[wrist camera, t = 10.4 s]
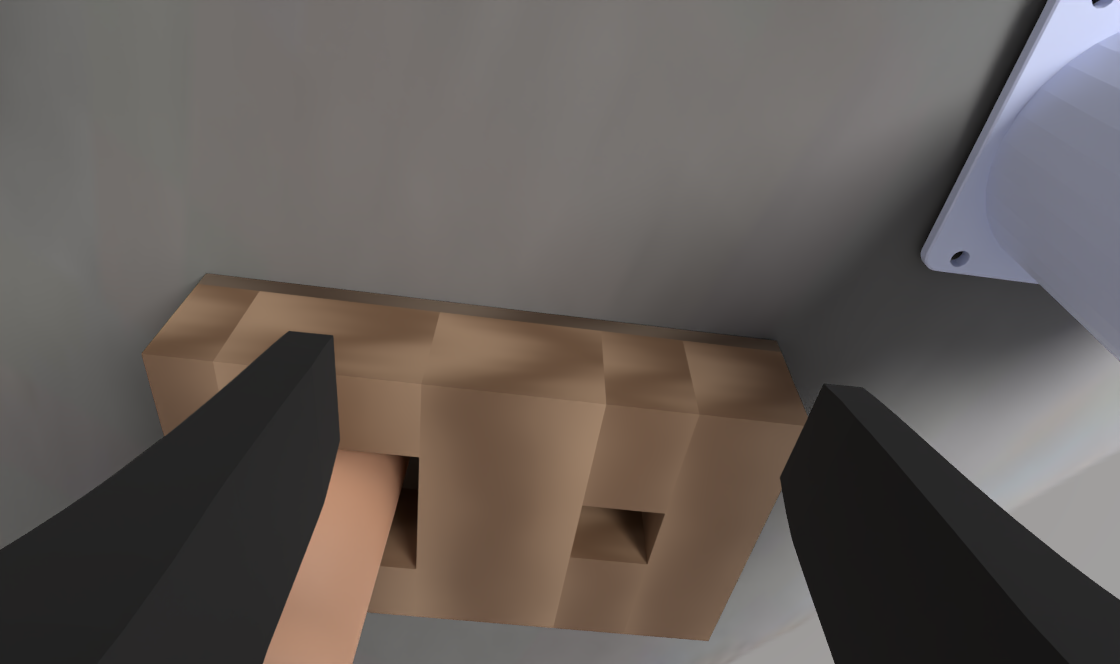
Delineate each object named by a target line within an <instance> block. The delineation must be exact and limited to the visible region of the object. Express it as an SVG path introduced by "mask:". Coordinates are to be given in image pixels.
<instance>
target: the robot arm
mask: <svg viewBox="0 0 1120 664" xmlns="http://www.w3.org/2000/svg"><path fill="white" fill-rule="evenodd" d="M959 251H963V253H962V254H961V256H960V257H958V258H957V259H955V260H951V258H952V256H953V255H954V254H955V253H957V252H959ZM920 255H921V260H922V261H923V262H924V263H925V265H926V266H927V267H928V268H929V269H931V270H934V271H941V272H948V273H956V274H964V275H972V276H980V277H987V278H995V279H1003V280H1011V281H1019V282H1026V283H1034V284H1040V285H1041V286H1042V287H1043V288H1044V289H1045V290H1046V291H1047V292H1048V293H1049V294H1050V295H1051V296H1052V297H1053V298H1054V299H1055V300H1056V301H1058V302H1059V303H1060V304H1061V305H1062V306H1063V307H1064V308H1065V309H1066V310H1067V311H1068V312H1069V313H1070V314H1071V315H1072V316H1073V317H1074V318H1075V319H1076V320H1077V321H1078V322H1079V323H1080V324H1081V325H1082V326H1083V327H1085V328H1086V329H1087V330H1088V331H1089V332H1090V333H1091V334H1092V335H1093V336H1094V337H1095V338H1096V339H1097V340H1098V341H1099V342H1100V343H1101V344H1102V345H1103V346H1104V347H1105V348H1106V349H1107V350H1108V351H1109V352H1110V353H1112V354H1113V355H1114V356H1115V357H1116V358H1117V359H1118V360H1119V361H1120V0H1100V1H1098V2H1096V3H1095V4H1092V0H1048V1H1047V3H1046V5H1045V7H1044V9H1043V11H1042V13H1041V15H1040V17H1039V19H1038V21H1037V23H1036V25H1035V27H1034V29H1033V31H1032V33H1031V35H1030V37H1029V39H1028V41H1027V43H1026V45H1025V47H1024V49H1023V51H1022V53H1021V55H1020V57H1019V58H1018V60H1017V62H1016V64H1015V66H1014V68H1013V70H1012V72H1011V74H1010V76H1009V78H1008V80H1007V82H1006V84H1005V86H1004V88H1003V90H1002V92H1001V94H1000V96H999V98H998V100H997V102H996V104H995V106H994V108H993V110H992V112H991V114H990V116H989V118H988V120H987V122H986V124H985V126H984V128H983V130H982V131H981V133H980V135H979V137H978V139H977V141H976V143H975V145H974V147H973V149H972V151H971V153H970V155H969V157H968V159H967V161H966V163H965V165H964V167H963V169H962V171H961V173H960V175H959V177H958V179H957V181H956V183H955V185H954V187H953V189H952V191H951V193H950V195H949V197H948V199H947V201H946V203H945V204H944V206H943V208H942V210H941V212H940V214H939V216H938V218H937V220H936V222H935V224H934V226H933V228H932V230H931V232H930V234H929V236H928V238H927V240H926V242H925V244H924V246H923V248H922V251H921V254H920ZM339 443H340V429H339V414H338V399H337V383H336V368H335V353H334V338H333V335H326V334H316V333H306V332H296V331H288V332H287V333H285V334H284V335H283V336H282V337H280V338H279V339H278V340H277V341H276V342H275V343H273V344H272V345H271V346H270V347H269V348H268V349H267V350H265V351H264V352H263V353H262V354H261V355H260V356H259V357H258V358H256V359H255V360H254V361H253V362H252V363H251V364H250V365H249V366H247V367H246V368H245V369H244V370H243V371H242V372H241V373H240V374H238V375H237V376H236V377H235V378H234V379H233V380H232V381H230V382H229V383H228V384H227V385H226V386H225V387H224V388H222V389H221V390H220V391H219V392H218V393H217V394H215V395H214V396H213V397H212V398H211V399H209V400H208V401H207V402H206V403H205V404H203V405H202V406H201V407H200V408H199V409H197V410H196V411H195V412H194V413H193V414H191V415H190V416H189V417H188V418H187V419H185V420H184V421H183V422H182V423H181V424H179V425H178V426H177V427H176V428H174V429H173V430H172V431H171V432H169V433H168V434H167V435H166V436H164V437H163V438H162V439H160V440H159V441H158V442H156V443H155V444H154V445H153V446H151V447H150V448H149V449H147V450H146V451H145V452H143V453H142V454H141V455H139V456H138V457H137V458H135V459H134V460H133V461H131V462H130V463H129V464H127V465H126V466H125V467H123V468H122V469H121V470H120V471H118V472H117V473H116V474H114V475H113V476H112V477H110V478H109V479H107V480H106V481H105V482H103V483H102V484H100V485H99V486H97V487H96V488H95V489H93V490H92V491H90V492H89V493H88V494H86V495H85V496H83V497H82V498H80V499H79V500H77V501H76V502H74V503H73V504H71V505H70V506H69V507H67V508H66V509H64V510H63V511H61V512H60V513H58V514H56V515H55V516H53V517H52V518H50V519H49V520H47V521H46V522H44V523H42V524H41V525H39V526H38V527H36V528H35V529H33V530H32V531H30V532H28V533H27V534H25V535H24V536H22V537H21V538H19V539H17V540H16V541H14V542H12V543H11V544H9V545H7V546H6V547H4V548H2V549H1V550H0V664H263V662H264V659H265V656H266V653H267V650H268V648H269V645H270V642H271V640H272V637H273V635H274V632H275V630H276V627H277V625H278V622H279V619H280V617H281V614H282V612H283V609H284V607H285V604H286V601H287V599H288V596H289V594H290V591H291V589H292V586H293V583H294V581H295V578H296V576H297V573H298V571H299V568H300V565H301V563H302V560H303V558H304V555H305V553H306V550H307V547H308V545H309V542H310V540H311V537H312V534H313V532H314V529H315V527H316V524H317V521H318V519H319V516H320V513H321V511H322V508H323V505H324V502H325V499H326V495H327V491H328V487H329V483H330V479H331V476H332V472H333V467H334V463H335V459H336V455H337V451H338V447H339ZM780 481H781V487H782V492H783V498H784V504H785V509H786V514H787V519H788V523H789V528H790V532H791V537H792V541H793V544H794V547H795V550H796V553H797V556H798V559H799V562H800V565H801V568H802V571H803V574H804V577H805V580H806V583H807V585H808V588H809V591H810V594H811V597H812V600H813V603H814V606H815V608H816V611H817V614H818V617H819V620H820V623H821V626H822V628H823V631H824V634H825V637H826V640H827V643H828V646H829V648H830V651H831V654H832V657H833V660H834V663H835V664H1120V600H1119V599H1118V598H1116V597H1115V596H1113V595H1112V594H1111V593H1109V592H1108V591H1106V590H1105V589H1103V588H1102V587H1101V586H1099V585H1098V584H1097V583H1095V582H1094V581H1093V580H1091V579H1090V578H1089V577H1087V576H1086V575H1085V574H1083V573H1082V572H1081V571H1079V570H1078V569H1077V568H1075V567H1074V566H1073V565H1071V564H1070V563H1069V562H1067V561H1066V560H1065V559H1064V558H1062V557H1061V556H1060V555H1059V554H1057V553H1056V552H1055V551H1054V550H1052V549H1051V548H1050V547H1049V546H1047V545H1046V544H1045V543H1044V542H1042V541H1041V540H1040V539H1039V538H1037V537H1036V536H1035V535H1034V534H1032V533H1031V532H1030V531H1029V530H1028V529H1026V528H1025V527H1024V526H1023V525H1021V524H1020V523H1019V522H1018V521H1016V520H1015V519H1014V518H1013V517H1012V516H1010V515H1009V514H1008V513H1007V512H1006V511H1005V510H1003V509H1002V508H1001V507H1000V506H999V505H997V504H996V503H995V502H994V501H993V500H992V499H990V498H989V497H988V496H987V495H986V494H985V493H983V492H982V491H981V490H980V489H979V488H978V487H976V486H975V485H974V484H973V483H972V482H971V481H970V480H968V479H967V478H966V477H965V476H964V475H963V474H962V473H961V472H959V471H958V470H957V469H956V468H955V467H954V466H953V465H952V464H950V463H949V462H948V461H947V460H946V459H945V458H944V457H943V456H941V455H940V454H939V453H938V452H937V451H936V450H935V449H934V448H932V447H931V446H930V445H929V444H928V443H927V442H926V441H925V440H924V439H922V438H921V437H920V436H919V435H918V434H917V433H916V432H915V431H913V430H912V429H911V428H910V427H909V426H908V425H907V424H906V423H904V422H903V421H902V420H901V419H900V418H899V417H898V416H897V415H895V414H894V413H893V412H892V411H891V410H890V409H888V408H887V407H886V406H885V405H884V404H883V403H881V402H880V401H879V400H878V399H877V398H875V397H874V396H873V395H871V394H870V393H869V392H868V391H866V390H865V389H864V388H862V387H852V386H841V385H831V384H823V387H822V389H821V391H820V393H819V395H818V397H817V399H816V401H815V404H814V406H813V408H812V410H811V412H810V414H809V416H808V418H807V421H806V423H805V425H804V427H803V429H802V431H801V433H800V435H799V438H798V440H797V442H796V444H795V446H794V448H793V450H792V452H791V454H790V457H789V459H788V461H787V463H786V465H785V467H784V469H783V471H782V474H781V476H780Z"/></svg>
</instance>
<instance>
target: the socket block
mask: <svg viewBox="0 0 1120 664" xmlns="http://www.w3.org/2000/svg"><path fill="white" fill-rule="evenodd" d="M288 331H296V332H306V333H316V334H326V335H333V338H334V353H335V368H336V383H337V399H338V414H339V429H340V443H339V447H338V449H342V450H352V451H361V452H371V453H381V454H391V455H401V456H410V460H409V464H408V467H407V471H406V474H405V478H404V481H403V485H402V489H401V492H400V496H399V499H398V503H397V506H396V510H395V514H394V517H393V521H392V524H391V528H390V531H389V535H388V538H387V542H386V546H385V549H384V553H383V556H382V560H381V563H380V567H379V571H378V574H377V578H376V581H375V585H374V588H373V592H372V596H371V599H370V603H369V606H368V610H367V612H370V613H382V614H393V615H405V616H417V617H429V618H441V619H453V620H465V621H477V622H489V623H501V624H512V625H524V626H536V627H548V628H560V629H572V630H584V631H596V632H608V633H620V634H631V635H643V636H655V637H667V638H679V639H691V640H703V641H709V639H710V636H711V634H712V632H713V630H714V628H715V626H716V624H717V622H718V620H719V618H720V616H721V614H722V612H723V610H724V607H725V605H726V603H727V601H728V599H729V597H730V595H731V593H732V591H733V589H734V587H735V585H736V583H737V581H738V579H739V576H740V574H741V572H742V570H743V568H744V566H745V564H746V562H747V560H748V558H749V556H750V554H751V552H752V550H753V548H754V545H755V543H756V541H757V539H758V537H759V535H760V533H761V531H762V529H763V527H764V525H765V523H766V521H767V519H768V517H769V514H770V512H771V510H772V508H773V506H774V504H775V502H776V500H777V498H778V496H779V494H780V492H781V490H782V487H781V481H780V476H781V474H782V471H783V469H784V467H785V465H786V463H787V461H788V459H789V457H790V454H791V452H792V450H793V448H794V446H795V444H796V442H797V440H798V438H799V435H800V433H801V431H802V429H803V427H804V425H805V423H806V421H807V418H808V416H807V414H806V411H805V409H804V406H803V404H802V401H801V399H800V397H799V394H798V392H797V389H796V387H795V384H794V382H793V380H792V377H791V375H790V372H789V370H788V367H787V365H786V363H785V360H784V358H783V355H782V353H781V350H780V348H779V345H778V343H777V341H774V340H766V339H757V338H749V337H740V336H732V335H723V334H715V333H706V332H698V331H689V330H681V329H673V328H664V327H656V326H647V325H639V324H630V323H622V322H613V321H605V320H596V319H588V318H579V317H571V316H562V315H554V314H546V313H537V312H529V311H520V310H512V309H503V308H495V307H486V306H478V305H469V304H461V303H452V302H444V301H435V300H427V299H419V298H410V297H402V296H393V295H385V294H376V293H368V292H359V291H351V290H342V289H334V288H325V287H317V286H308V285H300V284H292V283H283V282H275V281H266V280H258V279H249V278H241V277H232V276H224V275H215V274H207V273H206V274H205V276H204V277H203V278H202V279H201V281H200V282H199V283H198V284H197V286H196V287H195V288H194V289H193V291H192V292H191V293H190V294H189V295H188V297H187V298H186V299H185V300H184V302H183V303H182V304H181V305H180V307H179V308H178V309H177V310H176V312H175V313H174V314H173V315H172V317H171V318H170V319H169V320H168V321H167V323H166V324H165V325H164V326H163V328H162V329H161V330H160V331H159V333H158V334H157V335H156V336H155V338H154V339H153V340H152V341H151V342H150V344H149V345H148V346H147V347H146V349H145V350H144V351H143V352H142V358H143V361H144V365H145V369H146V372H147V376H148V380H149V383H150V387H151V391H152V394H153V398H154V402H155V405H156V409H157V412H158V416H159V420H160V423H161V427H162V431H163V434H164V436H166V435H167V434H168V433H169V432H171V431H172V430H173V429H174V428H176V427H177V426H178V425H179V424H181V423H182V422H183V421H184V420H185V419H187V418H188V417H189V416H190V415H191V414H193V413H194V412H195V411H196V410H197V409H199V408H200V407H201V406H202V405H203V404H205V403H206V402H207V401H208V400H209V399H211V398H212V397H213V396H214V395H215V394H217V393H218V392H219V391H220V390H221V389H222V388H224V387H225V386H226V385H227V384H228V383H229V382H230V381H232V380H233V379H234V378H235V377H236V376H237V375H238V374H240V373H241V372H242V371H243V370H244V369H245V368H246V367H247V366H249V365H250V364H251V363H252V362H253V361H254V360H255V359H256V358H258V357H259V356H260V355H261V354H262V353H263V352H264V351H265V350H267V349H268V348H269V347H270V346H271V345H272V344H273V343H275V342H276V341H277V340H278V339H279V338H280V337H282V336H283V335H284V334H285V333H287V332H288Z"/></svg>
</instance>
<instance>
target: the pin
mask: <svg viewBox="0 0 1120 664" xmlns="http://www.w3.org/2000/svg"><path fill="white" fill-rule="evenodd" d="M409 460H410V456H401V455H391V454H381V453H371V452H361V451H352V450H342V449H338V451H337V455H336V459H335V463H334V467H333V472H332V476H331V479H330V483H329V487H328V491H327V495H326V499H325V502H324V505H323V508H322V511H321V513H320V516H319V519H318V521H317V524H316V527H315V529H314V532H313V534H312V537H311V540H310V542H309V545H308V547H307V550H306V553H305V555H304V558H303V560H302V563H301V565H300V568H299V571H298V573H297V576H296V578H295V581H294V583H293V586H292V589H291V591H290V594H289V596H288V599H287V601H286V604H285V607H284V609H283V612H282V614H281V617H280V619H279V622H278V625H277V627H276V630H275V632H274V635H273V637H272V640H271V642H270V645H269V648H268V650H267V653H266V656H265V659H264V662H263V664H352V663H353V660H354V656H355V653H356V649H357V646H358V642H359V638H360V635H361V631H362V628H363V624H364V621H365V617H366V613H367V610H368V606H369V603H370V599H371V596H372V592H373V588H374V585H375V581H376V578H377V574H378V571H379V567H380V563H381V560H382V556H383V553H384V549H385V546H386V542H387V538H388V535H389V531H390V528H391V524H392V521H393V517H394V514H395V510H396V506H397V503H398V499H399V496H400V492H401V489H402V485H403V481H404V478H405V474H406V471H407V467H408V464H409Z"/></svg>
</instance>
